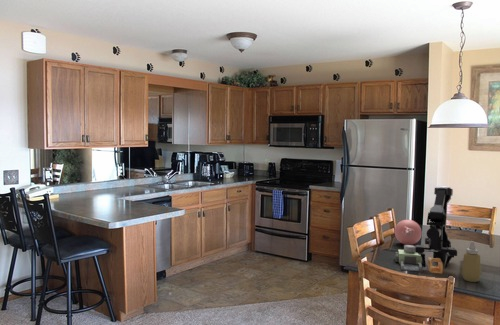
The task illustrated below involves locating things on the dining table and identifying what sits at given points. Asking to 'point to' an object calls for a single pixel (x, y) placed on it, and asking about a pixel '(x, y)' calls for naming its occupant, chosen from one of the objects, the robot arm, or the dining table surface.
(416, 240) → the pink rounded piece
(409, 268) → the chute bracket
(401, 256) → the mower deck
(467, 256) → the squeeze bottle
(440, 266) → the chute
